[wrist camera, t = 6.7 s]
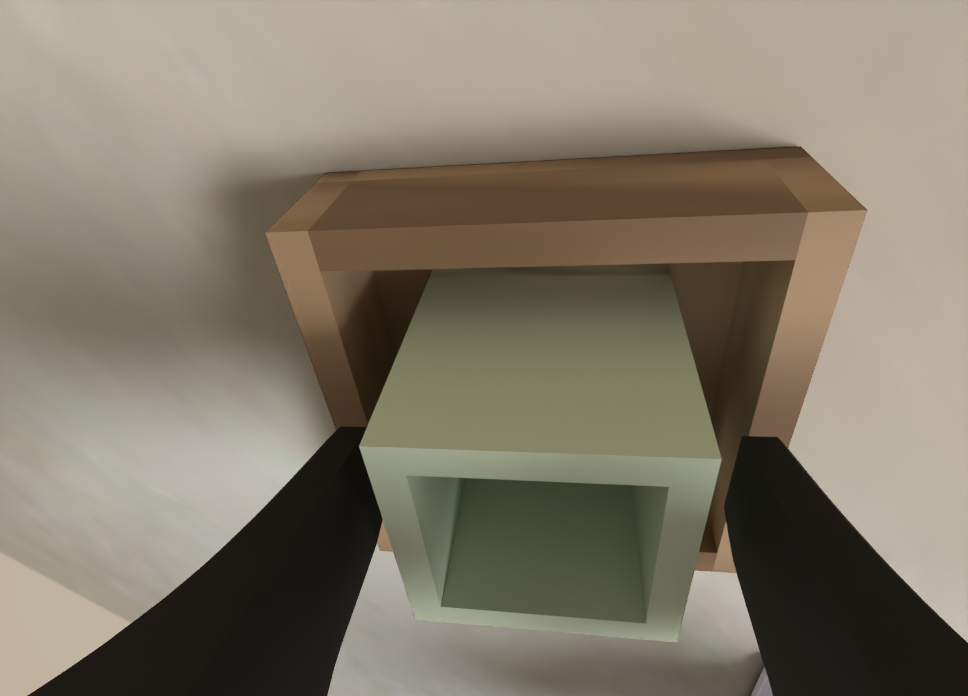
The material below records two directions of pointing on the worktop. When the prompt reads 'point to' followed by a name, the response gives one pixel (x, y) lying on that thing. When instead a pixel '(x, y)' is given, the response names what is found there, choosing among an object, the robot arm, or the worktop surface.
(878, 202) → the worktop surface
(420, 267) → the big crate
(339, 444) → the robot arm
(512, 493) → the small crate
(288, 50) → the worktop surface
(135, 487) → the worktop surface
